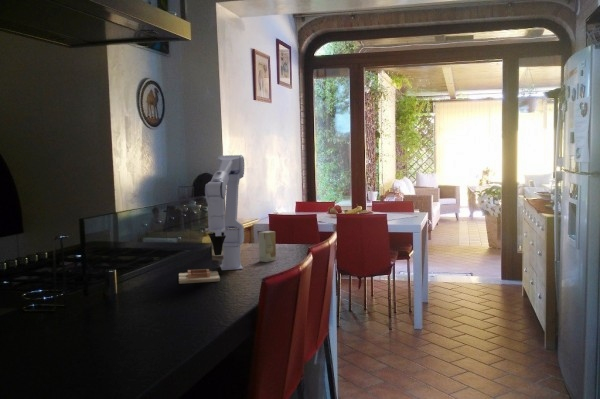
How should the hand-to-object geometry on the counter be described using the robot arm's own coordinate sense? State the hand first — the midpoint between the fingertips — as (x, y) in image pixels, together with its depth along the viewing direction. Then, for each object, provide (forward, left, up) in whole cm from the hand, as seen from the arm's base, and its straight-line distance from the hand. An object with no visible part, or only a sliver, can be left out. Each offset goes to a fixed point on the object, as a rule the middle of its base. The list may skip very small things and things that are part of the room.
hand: (217, 254), depth 207 cm
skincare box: (-31, +22, -9) cm, 39 cm away
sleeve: (0, 0, -2) cm, 2 cm away
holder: (-3, -7, -9) cm, 11 cm away
